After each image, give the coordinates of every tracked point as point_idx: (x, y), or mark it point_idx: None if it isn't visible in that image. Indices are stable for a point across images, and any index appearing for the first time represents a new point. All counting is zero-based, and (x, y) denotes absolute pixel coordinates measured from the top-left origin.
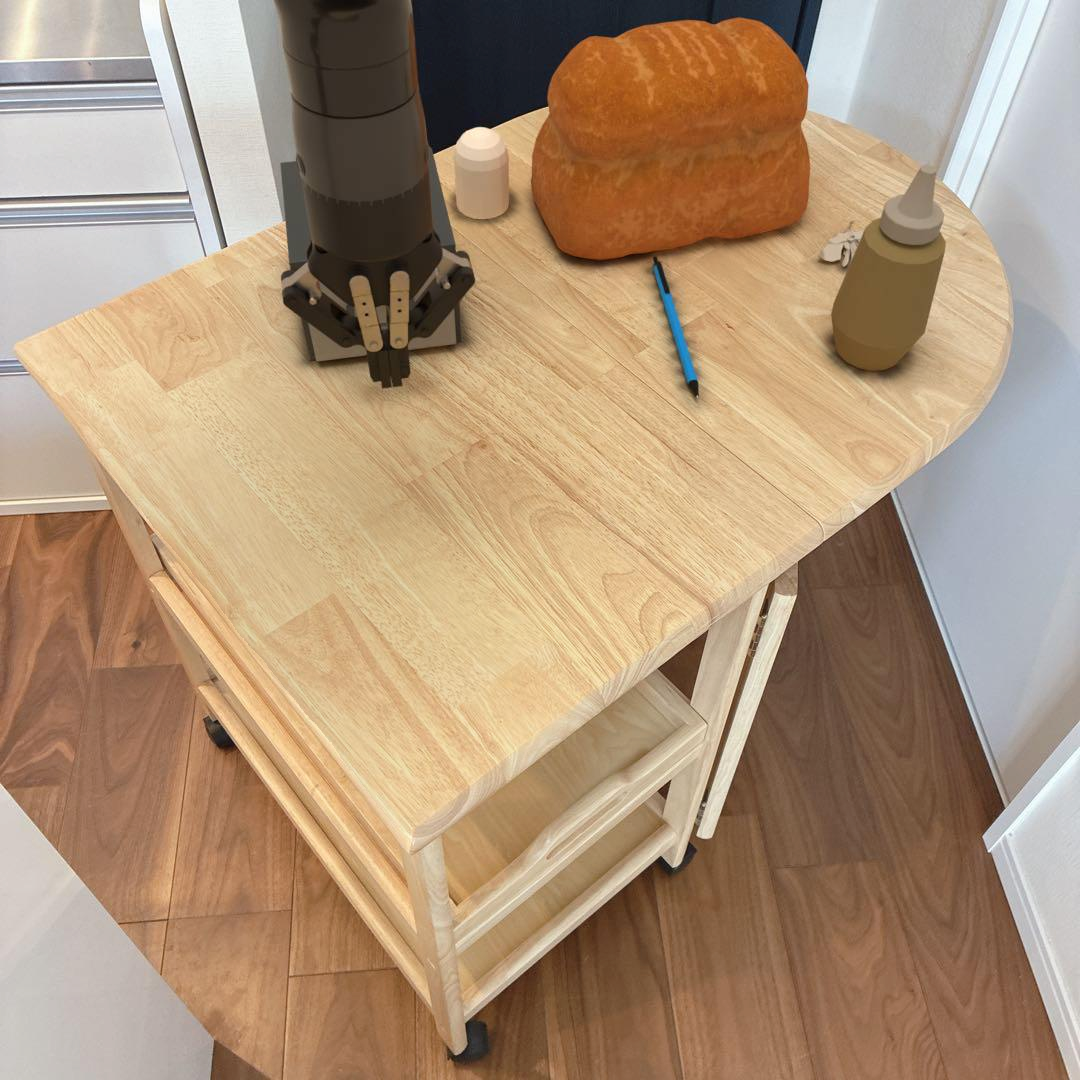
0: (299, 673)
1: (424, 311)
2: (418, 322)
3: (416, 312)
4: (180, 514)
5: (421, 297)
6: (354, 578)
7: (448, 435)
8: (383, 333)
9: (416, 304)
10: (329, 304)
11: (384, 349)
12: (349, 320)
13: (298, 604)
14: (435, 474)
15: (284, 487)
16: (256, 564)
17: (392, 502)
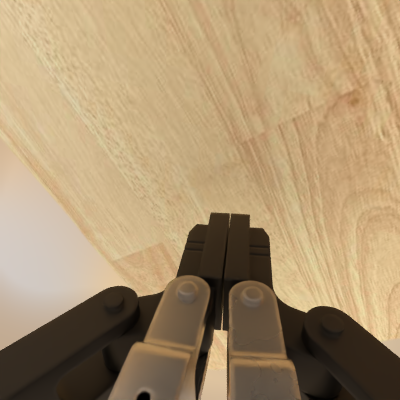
0: (139, 290)
1: (336, 379)
2: (305, 395)
3: (312, 372)
4: (13, 129)
5: (347, 385)
6: (179, 234)
7: (315, 71)
8: (219, 289)
9: (323, 362)
10: (54, 397)
11: (215, 326)
12: (127, 348)
13: (134, 244)
14: (279, 135)
15: (110, 116)
16: (96, 201)
17: (223, 163)
